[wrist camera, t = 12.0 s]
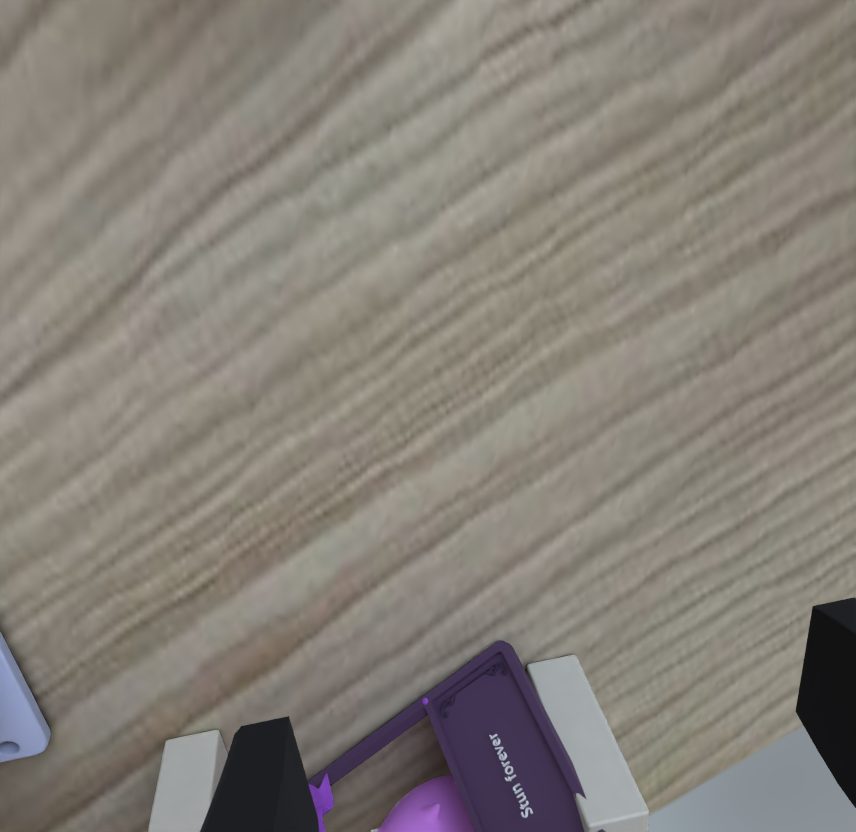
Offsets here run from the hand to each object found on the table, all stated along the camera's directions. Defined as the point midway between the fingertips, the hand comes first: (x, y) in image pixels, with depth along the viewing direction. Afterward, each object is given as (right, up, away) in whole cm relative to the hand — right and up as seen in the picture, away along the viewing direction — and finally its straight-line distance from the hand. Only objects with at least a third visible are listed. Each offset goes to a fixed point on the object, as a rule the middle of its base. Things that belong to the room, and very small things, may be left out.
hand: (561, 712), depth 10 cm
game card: (-2, -7, +14) cm, 16 cm away
